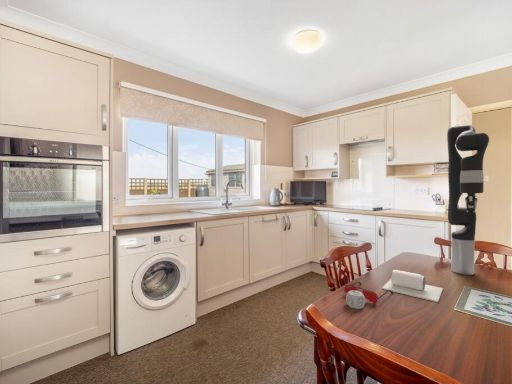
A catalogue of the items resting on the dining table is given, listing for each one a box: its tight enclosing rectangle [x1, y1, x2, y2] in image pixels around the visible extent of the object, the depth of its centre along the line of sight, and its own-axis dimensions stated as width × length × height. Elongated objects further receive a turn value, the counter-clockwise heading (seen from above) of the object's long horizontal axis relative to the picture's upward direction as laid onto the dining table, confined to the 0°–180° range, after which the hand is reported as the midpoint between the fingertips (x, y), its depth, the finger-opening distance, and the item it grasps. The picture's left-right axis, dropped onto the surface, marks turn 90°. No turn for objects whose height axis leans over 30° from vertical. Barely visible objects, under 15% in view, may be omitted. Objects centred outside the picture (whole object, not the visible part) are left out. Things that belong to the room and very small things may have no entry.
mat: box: [381, 278, 444, 303], centre depth 111 cm, size 16×20×1 cm
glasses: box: [343, 281, 394, 305], centre depth 107 cm, size 14×16×5 cm
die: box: [345, 290, 366, 310], centre depth 96 cm, size 5×5×5 cm
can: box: [390, 269, 426, 290], centre depth 112 cm, size 6×6×12 cm
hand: (471, 220), depth 107 cm, fingers open, 8 cm apart
